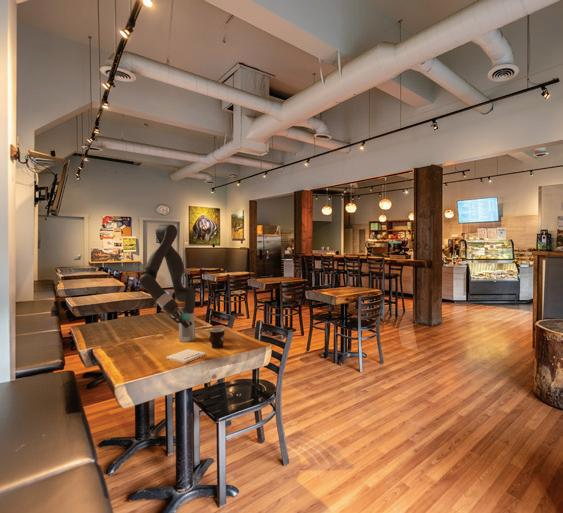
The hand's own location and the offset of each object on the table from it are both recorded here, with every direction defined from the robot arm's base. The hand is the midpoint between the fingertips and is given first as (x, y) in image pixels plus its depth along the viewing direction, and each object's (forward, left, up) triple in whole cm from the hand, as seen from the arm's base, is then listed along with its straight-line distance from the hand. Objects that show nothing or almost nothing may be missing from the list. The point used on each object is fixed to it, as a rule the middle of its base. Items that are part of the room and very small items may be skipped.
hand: (189, 326), depth 174 cm
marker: (+1, -2, -6) cm, 6 cm away
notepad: (+2, -1, -16) cm, 16 cm away
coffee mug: (-18, +1, -17) cm, 25 cm away
